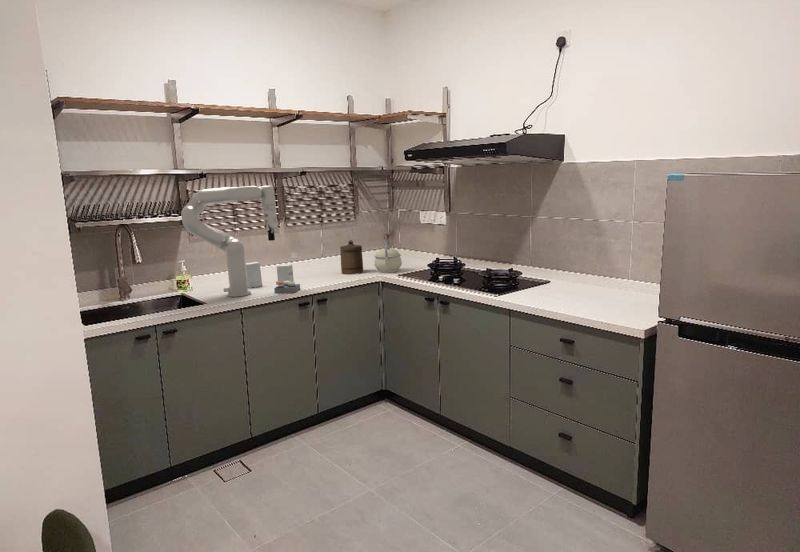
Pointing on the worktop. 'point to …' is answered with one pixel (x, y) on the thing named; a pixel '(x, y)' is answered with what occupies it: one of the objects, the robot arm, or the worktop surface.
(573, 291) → the worktop surface
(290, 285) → the sage button
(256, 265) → the skincare box
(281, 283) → the terracotta button
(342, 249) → the wooden container
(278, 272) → the supplement box
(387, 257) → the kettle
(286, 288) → the button panel
